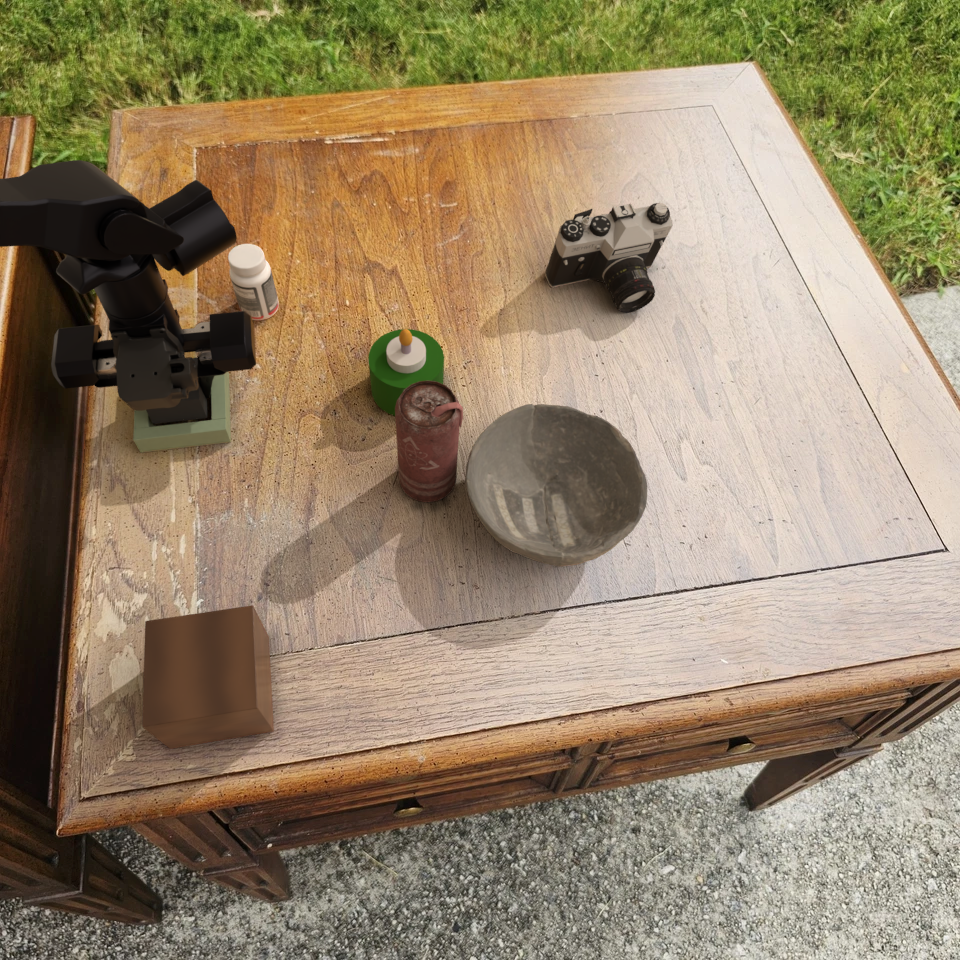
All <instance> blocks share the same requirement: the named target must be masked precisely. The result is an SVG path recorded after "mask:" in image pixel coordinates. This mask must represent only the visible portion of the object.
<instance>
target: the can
mask: <svg viewBox="0 0 960 960" xmlns="http://www.w3.org/2000/svg"><path fill="white" fill-rule="evenodd" d="M394 417H395V418H394V419H395V432H396V433H395V435H396V450H397V452H396V453H397V466H398V467H397V468H398V469H397V470H398V480H399V485H400V487H401V489H402V491H403V493H405V494H406V495H407V496H408V497H409V498H410V499H413V500H415V501H418V502H422V503H433V502H438V501H440V500H442V499H444V498H446V497H448V495H449V494H451V493H452V491H453V489H454V487H455V486H456V481H457V474H458V473H457V470H458V459H459V458H458V455H459V440H460V439H459V438H460V428H461V427H462V424H463V421H464V408H463V406H462V405H461V403H460V401H459V399H458V398H457V397H456V395H455V393H454V392H453V391H452V389H451V388H449V387H448V386H447V385H445V384H444V383H443V384H441V383H439V382H436V381H429V380H427V381H419V382H416V383H414V384H411V385H410V386H408V387H407V388H406V389H404V391H403V392H402V394H401V395H400V397H399V398H398V400H397V402H396V406H395V416H394Z"/></svg>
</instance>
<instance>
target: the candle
mask: <svg viewBox="0 0 960 960" xmlns="http://www.w3.org/2000/svg"><path fill="white" fill-rule="evenodd" d="M367 359H368V371H369V380H370V381H369V382H370V391H371V396H372V399H373V401H374V403H375V404H376V405H377V407H379V408H380V410H382V411H383V412H385V413H387V414H389V415H391V416H393V417H395V406H396V402H397V400H398V398H399V397H400V395H401V394H402V392H403V391H404V389H406V388H407V387H408V386H410V385H411V384H414V383H416V382H419V381H427V380H429V381H436V382H439V383H441V384H444V379H445V378H444V375H445V374H444V373H445V353H444V350H443V348H442V346H441V345H440V343H439V342H438V341H437V340H436V339H435V338H434V337H433V336H432V335H430V334H428V333H426V332H423V331H421V330H417V329H412V328H411V329H410V328H401V329H395V330H392V331H388V332H386V333H384V334H383V335H381V336H380V337H378V338H377V339H376V340H375V341H374V342H373V344H372V345H371V346H370V349H369V351H368V358H367Z"/></svg>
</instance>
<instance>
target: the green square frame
mask: <svg viewBox="0 0 960 960" xmlns="http://www.w3.org/2000/svg"><path fill="white" fill-rule="evenodd" d="M230 393H231V392H230V372H226V373H225V374H224V375H218V376H214V379H213V382H212V388H211V395H210V404H211V405H210V407H211V409H210V410H211V411H210V412H211V414H210V415H211V419H208V420H200V421H199V420H198V421H191V422H189V421H188V422H181V423H180V422H179V423H173V424H172V423H171V424H163V425H156V424H153V423H152V421H151V419H150V417H149V415H148V413H147V411H146V410H143V411H136V410H134V409H133V410H134V411H133V412H134V413H133V435H132V436H133V437H132V440H133V442H134V445H135V446H136V447H137V449H138V452H139V453H140V454H141V453H150V452H158V451H159V452H160V451H167V450H175V449H184V448H193V447H201V446H202V447H203V446H209V445H210V446H211V445H220V444H227V443H231V442H232V428H231V426H232V425H231V394H230Z"/></svg>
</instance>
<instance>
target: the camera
mask: <svg viewBox="0 0 960 960" xmlns="http://www.w3.org/2000/svg"><path fill="white" fill-rule="evenodd" d="M592 212H593V208H590V209H588V210H585V211H581V212H579V213H575V214H574V216H573V218H572V219H567V220H565V221H564V222H563V224H562V225H561V226H560V227H559V229H558V231H557V235H556V238H555V242H554V244H553V248H552V251H551V254H550V257H549V260H548V263H547V266H546V268H545V274H544V276H545V278H546V281H547V283H548V285H549V287H551V288H552V289H553V288H557V287H562V286H567V285H572V284H576V283H581V282H586V281H591V280H592V281H596V282H600V283H604V284H605V286H606V288H607V290H608V292H610V295H611V297H612V298H611V299H612V302H613V303H614V305H615V308H616V309H617V310H618V311H620V312H621V313H625V314H627V313H632V312H635V311H638V310H641V309H643V308H645V307H647V306H648V304H650V303H651V302H652V301H653V300H654V298H655V296H656V289H655V286H654V285H653V281H652V280H651V279H650V277H649V274H648V269H649V268H652V265H653V263H654V261H655V259H656V258H657V256H658V254H659V252H660V250H661V248H662V247H663V246H664V243H665V241H666V239H667V237H668V235H669V234H670V232H671V229H672V228H673V219H672V217H671V212H670V209H669V207H668V205H667V204H666V203H664V202H655V203H652V204H650V206H642V207H636V208H634V206H633V203H632V202H630V203H628V204H624V205H623V204H622V205H618V206H615V205H612V208H611V209H610V211H609V213H605V214H601V215H600V214H599V215H594V216H591V215H592Z"/></svg>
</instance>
